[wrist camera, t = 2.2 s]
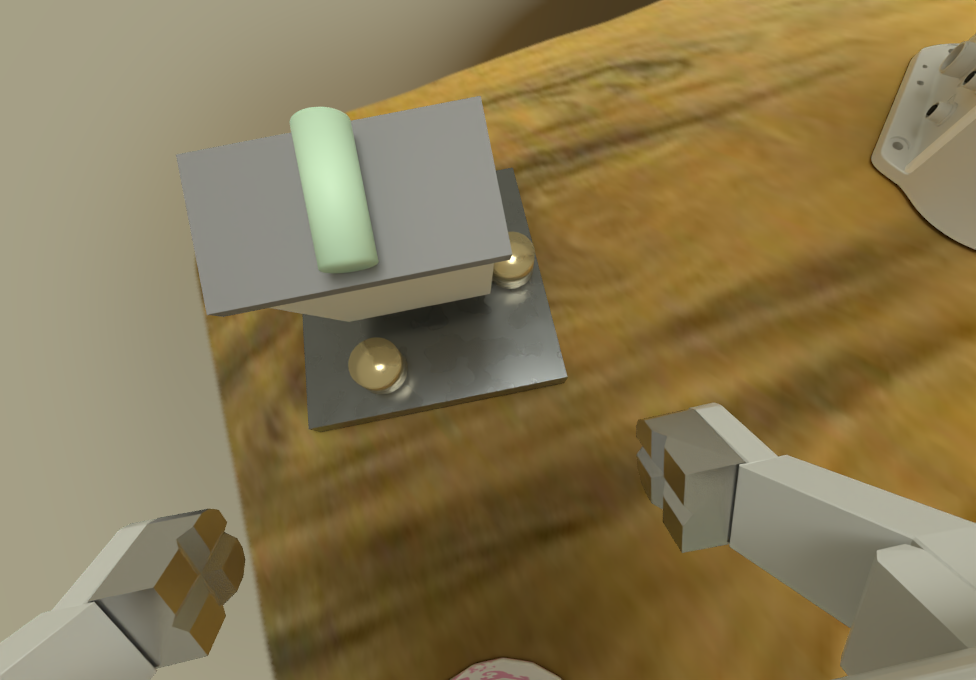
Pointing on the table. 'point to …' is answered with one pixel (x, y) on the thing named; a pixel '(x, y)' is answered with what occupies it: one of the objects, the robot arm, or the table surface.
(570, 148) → the table surface
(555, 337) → the base
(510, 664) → the teacup
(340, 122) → the instrument head
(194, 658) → the robot arm
